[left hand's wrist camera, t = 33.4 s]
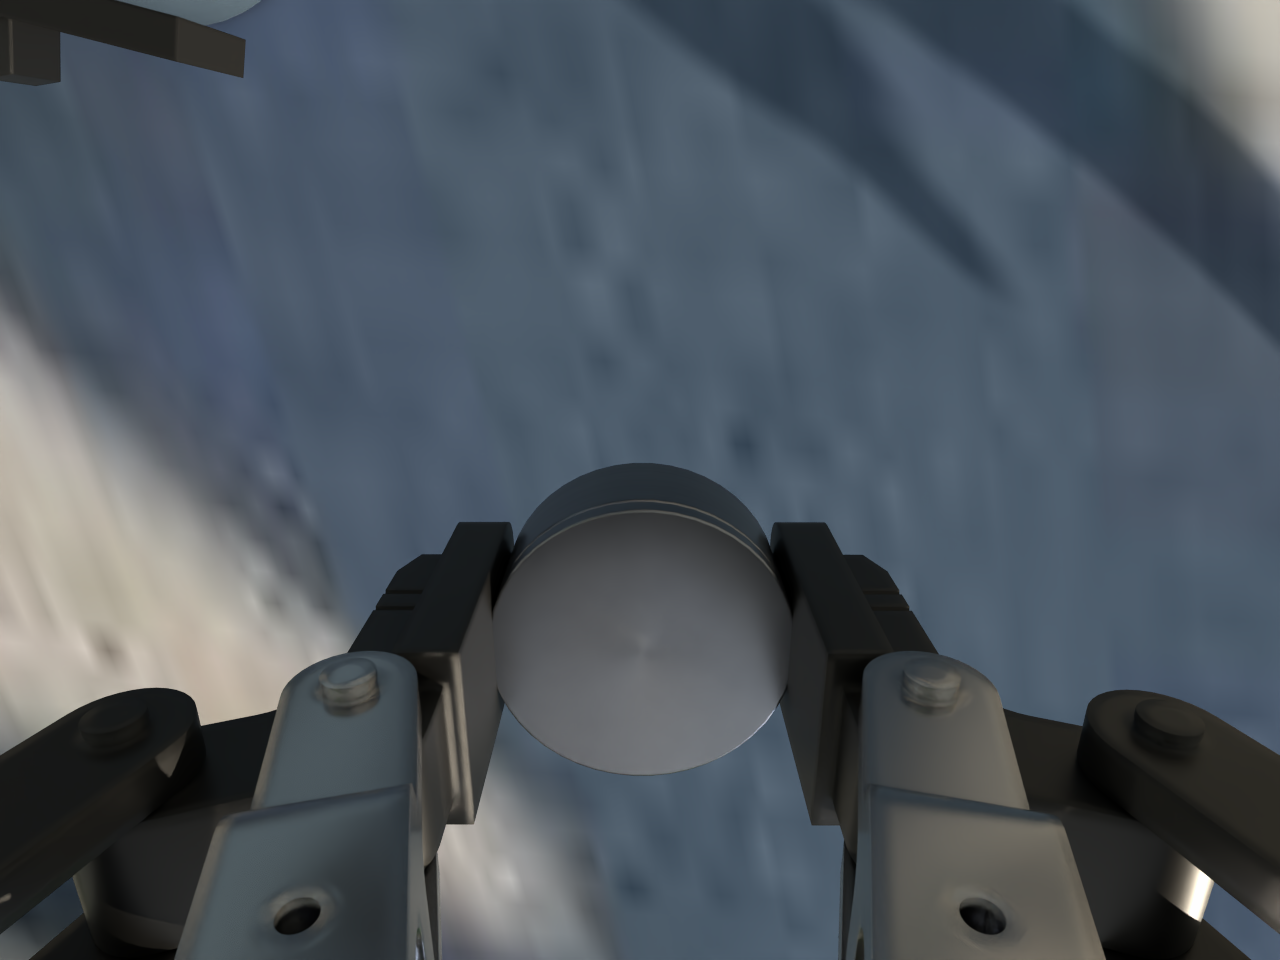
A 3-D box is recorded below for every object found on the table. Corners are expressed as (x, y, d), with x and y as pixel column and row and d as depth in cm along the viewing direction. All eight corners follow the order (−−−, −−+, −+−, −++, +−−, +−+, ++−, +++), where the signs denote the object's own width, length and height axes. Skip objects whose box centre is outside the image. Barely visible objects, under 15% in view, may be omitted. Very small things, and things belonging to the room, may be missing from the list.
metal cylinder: (454, 598, 12) (425, 664, 10) (628, 404, 11) (627, 445, 9) (652, 741, 13) (655, 823, 11) (831, 576, 12) (861, 640, 10)
